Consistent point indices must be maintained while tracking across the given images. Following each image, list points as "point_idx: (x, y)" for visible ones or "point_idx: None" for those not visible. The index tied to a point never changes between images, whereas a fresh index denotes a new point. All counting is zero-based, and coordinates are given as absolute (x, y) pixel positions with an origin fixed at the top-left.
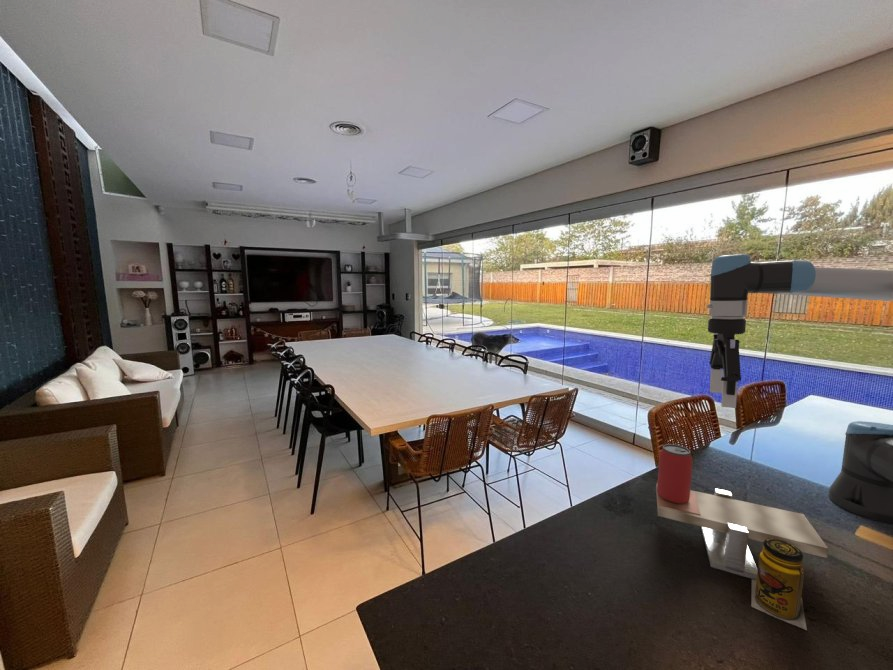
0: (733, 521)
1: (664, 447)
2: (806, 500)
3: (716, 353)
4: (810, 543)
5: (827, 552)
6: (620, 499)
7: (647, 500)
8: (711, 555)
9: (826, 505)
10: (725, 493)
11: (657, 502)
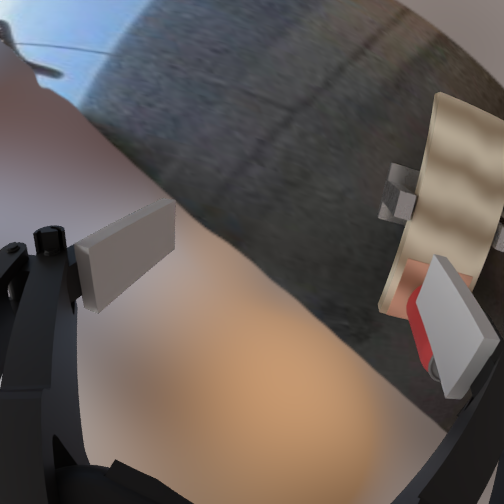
0: (484, 233)
1: (439, 377)
2: (238, 8)
3: (83, 446)
4: None
5: None
6: (334, 317)
7: (328, 278)
8: None
9: None
10: (410, 204)
11: None
